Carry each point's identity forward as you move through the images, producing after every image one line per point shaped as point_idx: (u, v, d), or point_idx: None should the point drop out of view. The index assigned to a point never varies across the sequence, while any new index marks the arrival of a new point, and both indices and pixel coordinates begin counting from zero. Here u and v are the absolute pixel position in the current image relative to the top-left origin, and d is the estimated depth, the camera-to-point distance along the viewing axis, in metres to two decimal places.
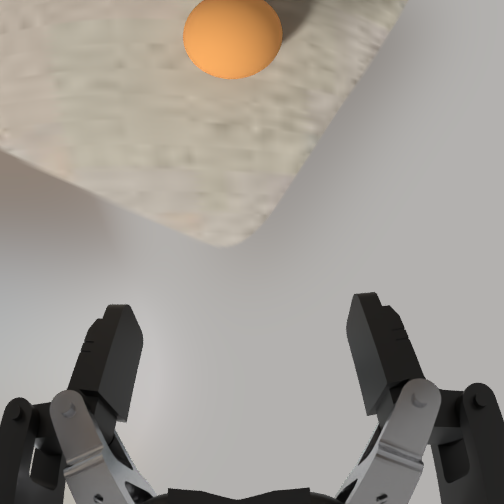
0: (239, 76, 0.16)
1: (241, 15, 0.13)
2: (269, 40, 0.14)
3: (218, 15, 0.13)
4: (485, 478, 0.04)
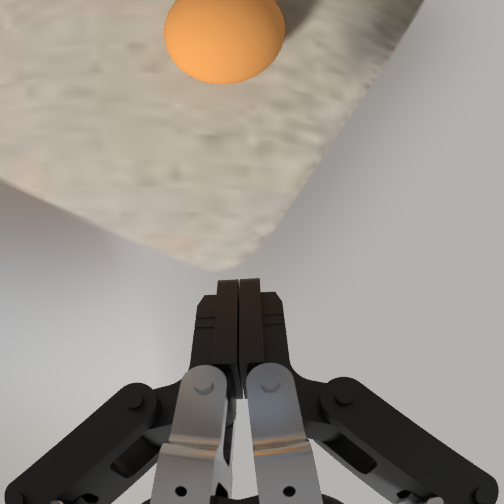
0: (232, 81, 0.13)
1: (233, 6, 0.10)
2: (269, 36, 0.11)
3: (205, 5, 0.10)
4: (399, 464, 0.05)
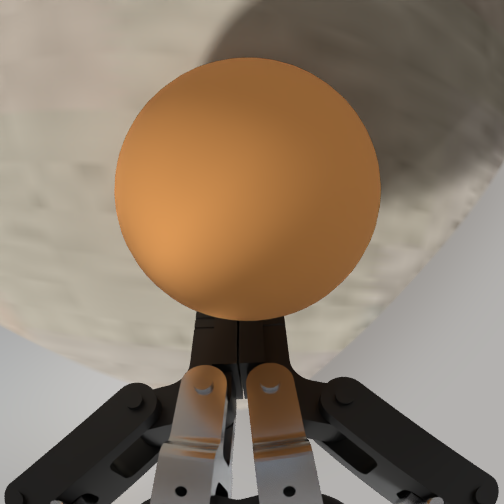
0: None
1: (284, 209, 0.04)
2: (357, 257, 0.06)
3: (200, 204, 0.04)
4: (400, 464, 0.05)
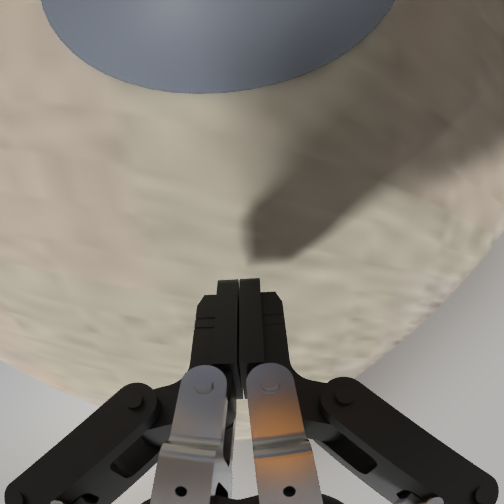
0: None
1: None
2: None
3: None
4: (400, 464, 0.05)
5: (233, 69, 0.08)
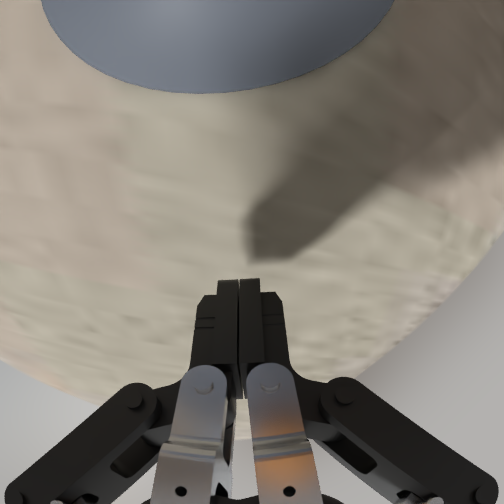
0: None
1: None
2: None
3: None
4: (400, 464, 0.05)
5: (233, 69, 0.08)
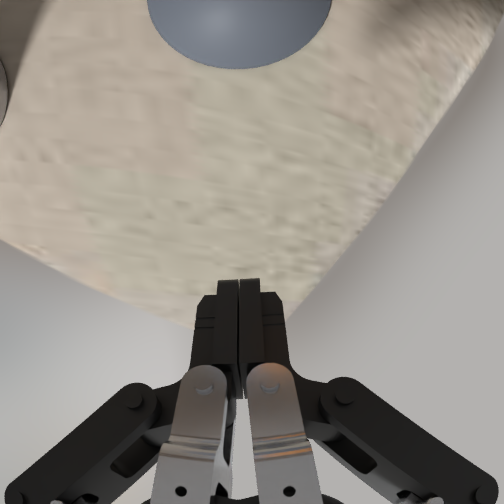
0: None
1: None
2: None
3: None
4: (400, 463, 0.05)
5: (248, 58, 0.17)
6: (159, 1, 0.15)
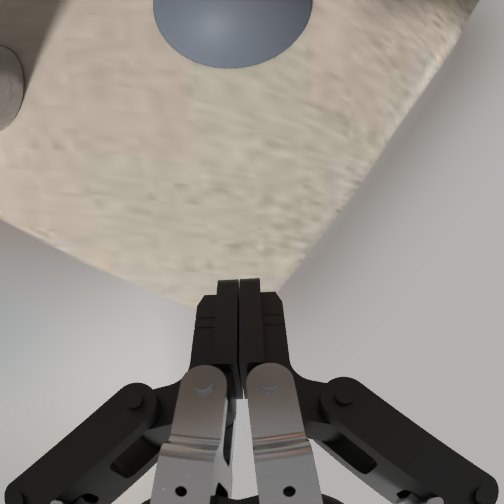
0: None
1: None
2: None
3: None
4: (400, 464, 0.05)
5: (239, 59, 0.20)
6: (164, 9, 0.17)
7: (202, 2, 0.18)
